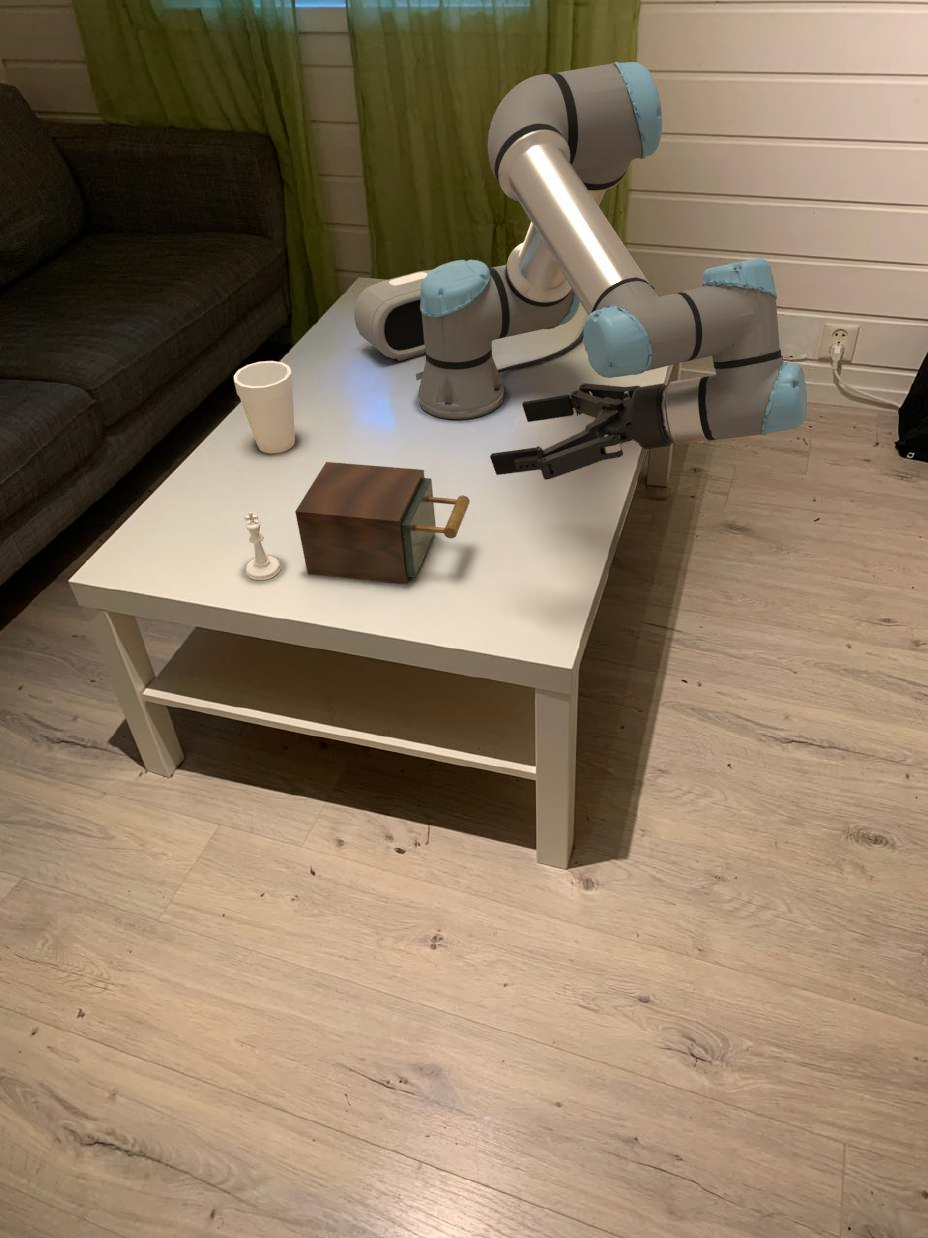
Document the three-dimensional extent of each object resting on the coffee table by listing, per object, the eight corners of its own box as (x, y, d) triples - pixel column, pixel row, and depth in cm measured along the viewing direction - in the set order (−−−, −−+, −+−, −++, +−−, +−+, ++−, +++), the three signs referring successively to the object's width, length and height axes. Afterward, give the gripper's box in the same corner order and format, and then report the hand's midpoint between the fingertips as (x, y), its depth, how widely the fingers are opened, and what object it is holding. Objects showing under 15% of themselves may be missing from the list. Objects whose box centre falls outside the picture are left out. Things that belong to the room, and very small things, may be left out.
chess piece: (248, 561, 147) (234, 504, 140) (281, 557, 147) (269, 500, 140) (245, 581, 143) (230, 524, 137) (279, 578, 143) (266, 521, 137)
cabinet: (429, 531, 150) (424, 469, 143) (406, 584, 141) (399, 521, 134) (336, 522, 153) (326, 461, 146) (307, 573, 144) (295, 511, 137)
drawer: (474, 532, 147) (471, 481, 142) (456, 581, 139) (452, 529, 133) (349, 521, 152) (341, 470, 146) (323, 567, 143) (314, 516, 137)
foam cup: (293, 460, 168) (279, 389, 159) (241, 456, 169) (224, 386, 161) (310, 431, 175) (298, 361, 166) (260, 428, 176) (246, 359, 168)
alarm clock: (380, 369, 191) (372, 301, 182) (358, 351, 197) (350, 284, 188) (473, 340, 198) (470, 274, 189) (449, 323, 204) (445, 258, 196)
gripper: (656, 496, 114) (489, 514, 124) (694, 393, 132) (545, 416, 141) (641, 438, 110) (469, 461, 120) (682, 340, 127) (529, 367, 137)
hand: (510, 437), depth 131 cm, fingers open, 13 cm apart
